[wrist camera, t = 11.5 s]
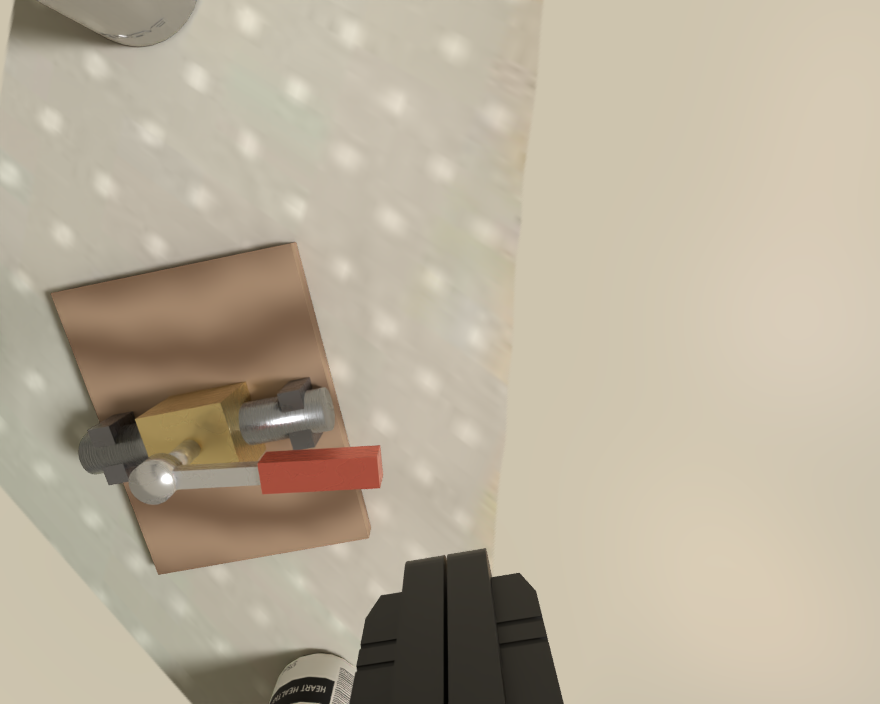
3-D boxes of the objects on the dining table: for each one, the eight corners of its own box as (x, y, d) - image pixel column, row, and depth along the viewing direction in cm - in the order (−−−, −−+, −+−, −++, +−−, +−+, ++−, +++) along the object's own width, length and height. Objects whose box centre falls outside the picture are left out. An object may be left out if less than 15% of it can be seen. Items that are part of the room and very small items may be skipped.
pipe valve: (103, 406, 41) (15, 455, 33) (326, 363, 40) (294, 401, 32) (127, 470, 43) (48, 533, 34) (343, 430, 42) (317, 484, 33)
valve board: (65, 290, 39) (50, 293, 38) (296, 242, 38) (290, 243, 37) (167, 563, 45) (158, 574, 44) (371, 527, 44) (368, 538, 43)
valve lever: (148, 492, 33) (133, 505, 31) (139, 454, 32) (124, 465, 31) (383, 479, 33) (380, 492, 31) (379, 440, 32) (376, 452, 30)
